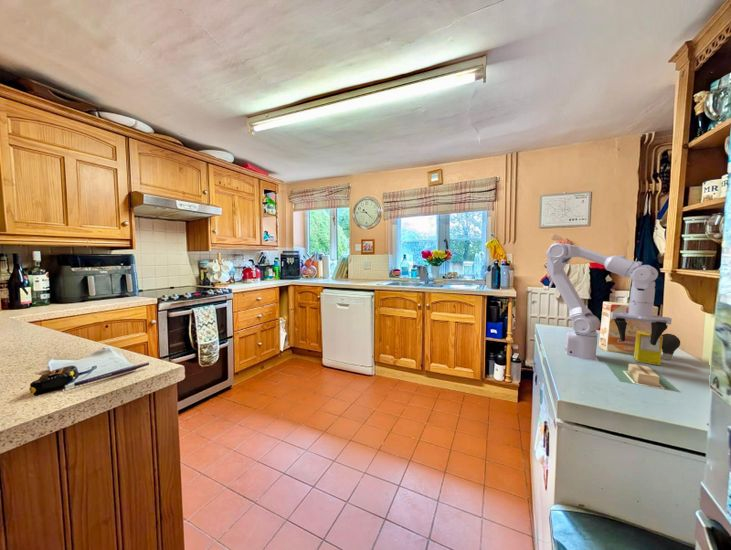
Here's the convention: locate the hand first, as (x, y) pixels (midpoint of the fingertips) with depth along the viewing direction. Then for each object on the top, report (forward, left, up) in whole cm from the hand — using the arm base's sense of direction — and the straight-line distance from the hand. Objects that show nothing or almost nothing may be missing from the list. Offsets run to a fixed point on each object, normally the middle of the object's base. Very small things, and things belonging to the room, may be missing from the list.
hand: (637, 342), depth 96 cm
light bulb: (+14, +19, -10) cm, 25 cm away
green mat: (-1, -7, -9) cm, 12 cm away
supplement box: (+6, +11, -10) cm, 16 cm away
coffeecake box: (+3, +22, -10) cm, 24 cm away
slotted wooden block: (-1, -11, -9) cm, 14 cm away
